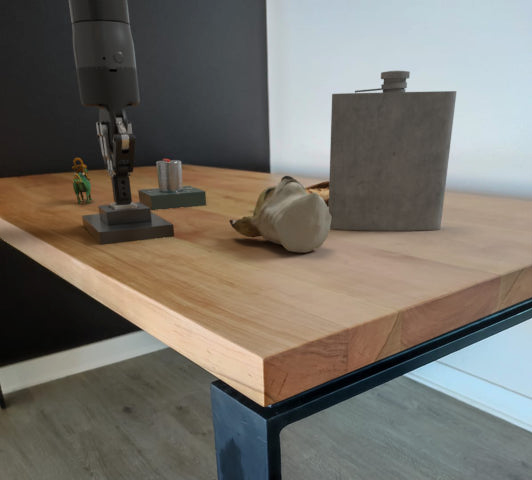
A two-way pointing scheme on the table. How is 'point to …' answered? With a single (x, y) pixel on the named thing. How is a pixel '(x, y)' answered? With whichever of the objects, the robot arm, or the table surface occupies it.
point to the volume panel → (172, 198)
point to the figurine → (81, 181)
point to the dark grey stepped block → (126, 225)
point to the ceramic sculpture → (288, 217)
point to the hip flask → (389, 157)
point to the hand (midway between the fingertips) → (123, 203)
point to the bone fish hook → (320, 190)
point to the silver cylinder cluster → (169, 175)
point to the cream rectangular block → (123, 206)
